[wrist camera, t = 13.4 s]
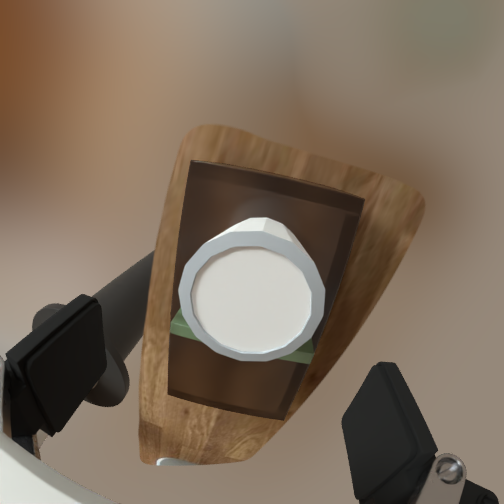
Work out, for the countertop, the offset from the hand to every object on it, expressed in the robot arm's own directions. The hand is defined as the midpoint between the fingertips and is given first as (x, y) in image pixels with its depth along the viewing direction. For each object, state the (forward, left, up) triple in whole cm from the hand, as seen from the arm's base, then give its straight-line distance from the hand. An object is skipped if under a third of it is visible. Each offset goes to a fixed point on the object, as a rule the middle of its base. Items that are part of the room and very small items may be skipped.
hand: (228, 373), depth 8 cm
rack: (0, -5, -22) cm, 23 cm away
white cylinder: (0, 0, -12) cm, 12 cm away
